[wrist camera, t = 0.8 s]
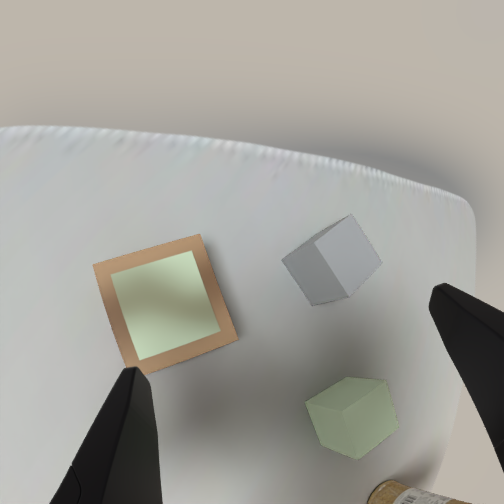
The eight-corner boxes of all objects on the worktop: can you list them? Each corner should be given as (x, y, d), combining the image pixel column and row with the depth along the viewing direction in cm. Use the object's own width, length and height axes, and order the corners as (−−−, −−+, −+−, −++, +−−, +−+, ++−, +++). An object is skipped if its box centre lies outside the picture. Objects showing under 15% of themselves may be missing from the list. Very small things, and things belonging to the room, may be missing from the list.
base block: (223, 339, 23) (239, 339, 19) (130, 373, 20) (131, 379, 16) (190, 248, 23) (200, 233, 20) (97, 275, 20) (92, 264, 17)
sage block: (359, 418, 25) (399, 427, 20) (320, 445, 23) (357, 460, 19) (346, 376, 25) (386, 380, 21) (304, 401, 24) (341, 411, 19)
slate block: (344, 275, 28) (382, 263, 24) (311, 305, 26) (349, 297, 22) (317, 233, 28) (351, 213, 24) (280, 260, 26) (313, 242, 22)
